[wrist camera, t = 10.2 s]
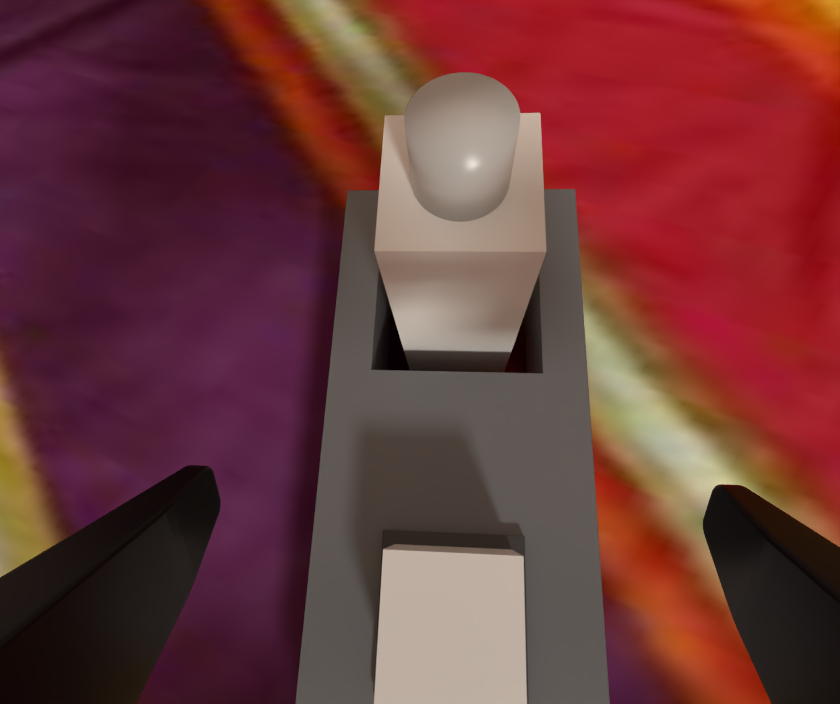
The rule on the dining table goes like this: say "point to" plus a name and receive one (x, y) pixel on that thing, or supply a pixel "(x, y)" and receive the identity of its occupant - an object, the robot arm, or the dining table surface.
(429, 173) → the plug
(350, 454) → the grey boxy piece
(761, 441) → the dining table surface
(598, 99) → the dining table surface
